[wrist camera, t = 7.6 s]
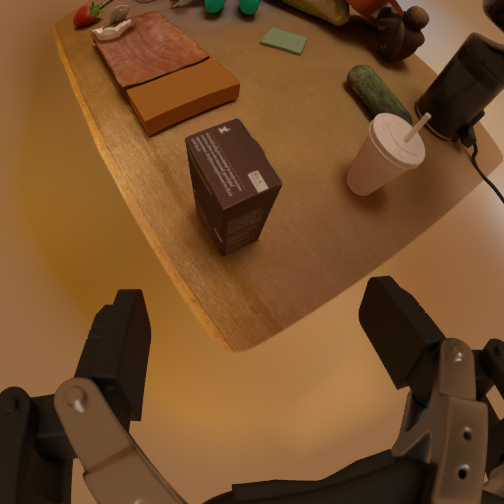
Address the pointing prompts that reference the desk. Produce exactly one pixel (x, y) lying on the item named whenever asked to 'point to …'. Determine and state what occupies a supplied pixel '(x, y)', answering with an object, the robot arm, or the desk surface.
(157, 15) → the brown wooden flat board
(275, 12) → the desk surface
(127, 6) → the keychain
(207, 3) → the donuts
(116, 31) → the false teeth
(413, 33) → the sculpture
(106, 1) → the pencil
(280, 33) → the mat
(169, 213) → the desk surface
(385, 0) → the rounded orange block
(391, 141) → the smoothie
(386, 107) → the vegetable
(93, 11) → the fruit
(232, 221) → the box
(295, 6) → the lettuce
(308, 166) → the desk surface
